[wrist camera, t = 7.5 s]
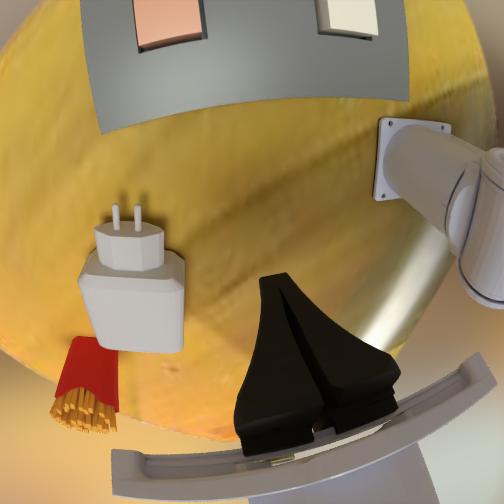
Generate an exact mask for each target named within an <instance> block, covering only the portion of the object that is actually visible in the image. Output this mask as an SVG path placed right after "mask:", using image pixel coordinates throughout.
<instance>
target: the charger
mask: <svg viewBox="0 0 504 504" xmlns="http://www.w3.org/2000/svg"><path fill="white" fill-rule="evenodd" d="M112 213H113V222H109V223H104V224H100V225H98V226H96V227H94V232H95V239H96V246H97V248H96V249H95V250H94V251H93V252H92V253H91V254H90V255H89V256H88V257H87V259H86V262H85V264H84V266H83V269H82V271H81V273H80V276H79V278H78V284H79V287H80V291H81V294H82V297H83V301H84V304H85V307H86V310H87V313H88V316H89V319H90V321H91V324H92V327H93V330H94V332H95V335H96V338H97V340H98V343H99V344H100V345H101V346H102V347H104V348H107V349H112V350H122V351H134V352H149V353H177V352H179V351H181V350H182V349H183V347H184V291H185V261H184V260H183V259H182V258H180V257H179V256H178V255H177V254H175V253H174V252H172V251H167V250H164V230H162V229H161V228H160V227H158V226H155V225H152V224H149V223H146V222H141V205H140V204H136V205H134V219H135V221H120V218H119V205H118V204H117V203H114V204H113V205H112Z"/></svg>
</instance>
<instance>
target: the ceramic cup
mask: <svg viewBox="0 0 504 504" xmlns="http://www.w3.org/2000/svg"><path fill="white" fill-rule="evenodd" d="M294 459H295V456H294V454H290V455H286V456H282V457H277V458H272V459H267V460H262V461H270V462H271V465H277V464H281V463H285V462H288V461H291V460H294ZM262 461H257V462H262Z"/></svg>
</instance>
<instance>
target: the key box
mask: <svg viewBox="0 0 504 504" xmlns="http://www.w3.org/2000/svg"><path fill="white" fill-rule="evenodd" d="M374 1H375V9H376V17H377V26H378V36H368V37H358V38H350V37H342V36H332V35H321V34H318V29H317V20H316V11H315V4H314V0H198V4H199V12H200V20H201V28H202V40H197V41H191V42H185V43H180V44H176V45H171V46H167V47H162V48H158V49H154V50H151V51H149V50H147V49H144V48H142V47H140V46H139V43H138V36H137V28H136V20H135V11H134V1H133V0H80V7H81V21H82V32H83V41H84V49H85V56H86V63H87V69H88V75H89V80H90V86H91V91H92V96H93V101H94V105H95V110H96V114H97V118H98V122H99V127H100V130H101V134H102V135H103V134H105V133H108V132H111V131H114V130H118V129H121V128H124V127H127V126H131V125H134V124H138V123H141V122H145V121H148V120H152V119H156V118H160V117H164V116H168V115H173V114H177V113H182V112H187V111H192V110H197V109H202V108H208V107H214V106H220V105H226V104H233V103H241V102H249V101H259V100H269V99H283V98H302V97H353V98H372V99H385V100H395V101H404V102H409V54H408V38H407V26H406V17H405V9H404V2H403V0H374Z"/></svg>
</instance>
